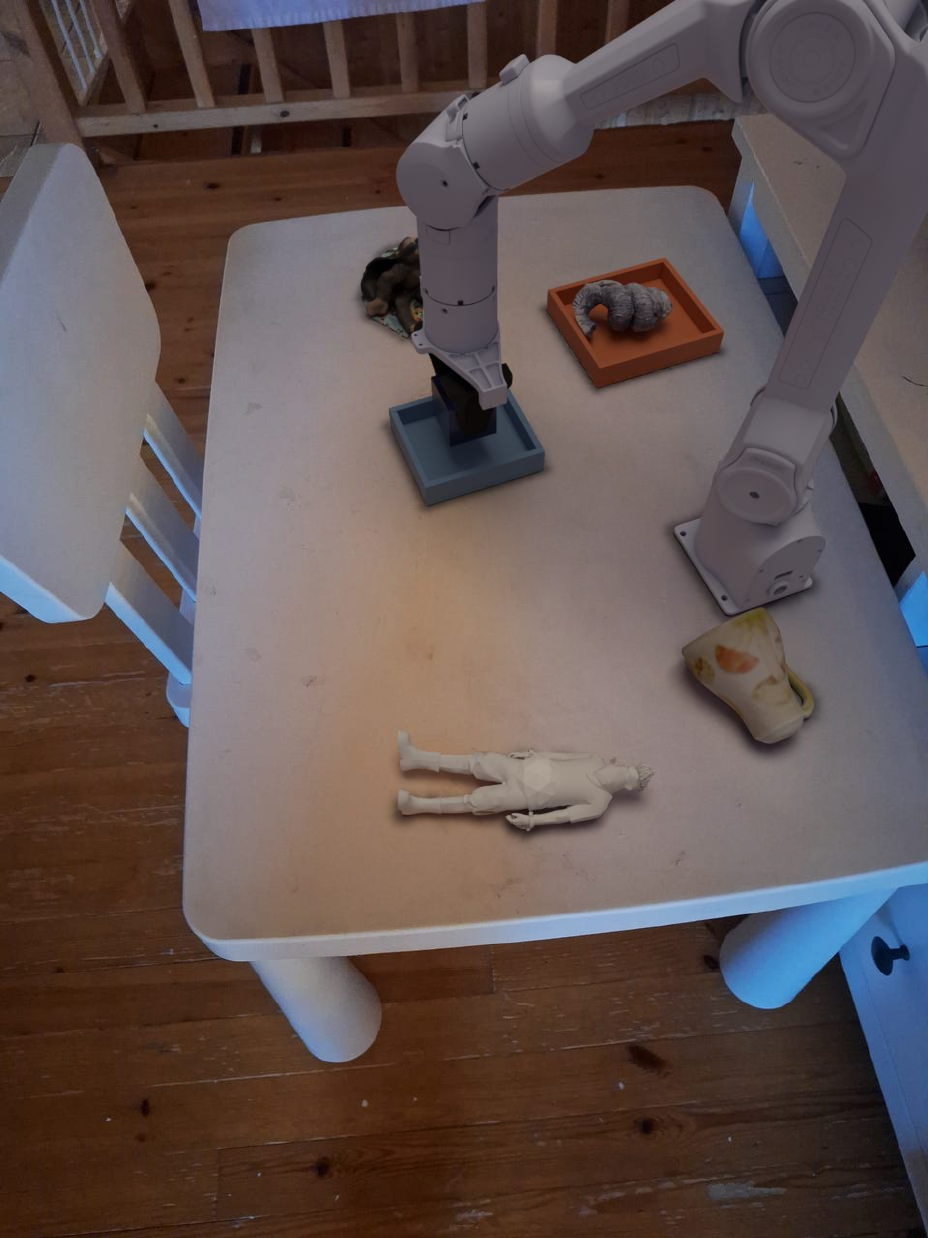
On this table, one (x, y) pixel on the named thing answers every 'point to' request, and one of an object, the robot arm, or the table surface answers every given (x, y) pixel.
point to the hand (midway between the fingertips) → (464, 411)
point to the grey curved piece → (621, 305)
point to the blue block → (454, 415)
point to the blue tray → (464, 451)
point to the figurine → (524, 783)
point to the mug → (751, 674)
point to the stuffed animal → (395, 287)
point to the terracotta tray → (630, 351)
